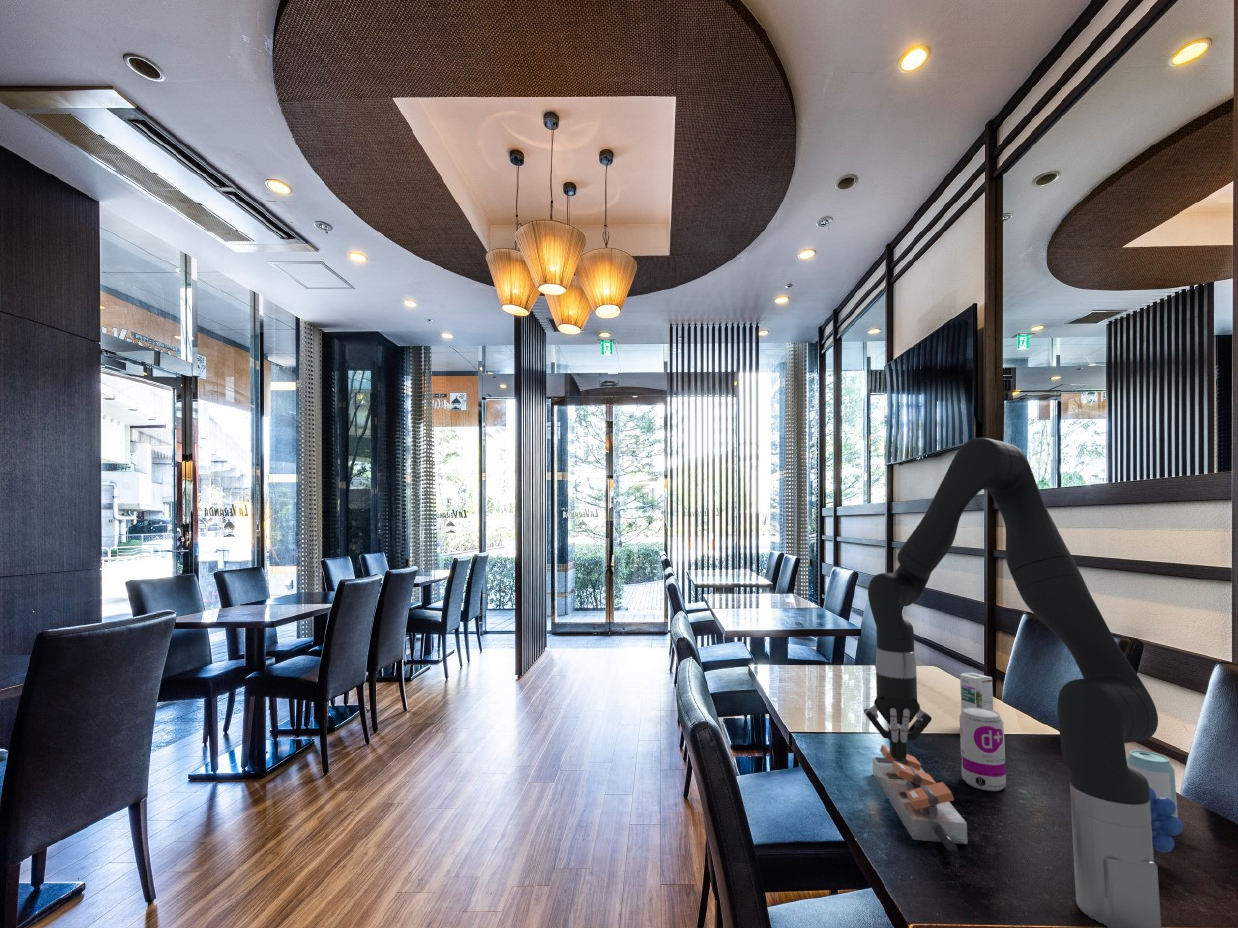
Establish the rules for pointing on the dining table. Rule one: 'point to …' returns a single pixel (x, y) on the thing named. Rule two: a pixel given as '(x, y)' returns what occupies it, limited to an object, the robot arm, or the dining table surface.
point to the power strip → (920, 810)
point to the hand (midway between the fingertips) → (898, 759)
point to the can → (1155, 773)
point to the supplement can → (982, 748)
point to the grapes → (1163, 822)
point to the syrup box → (976, 691)
